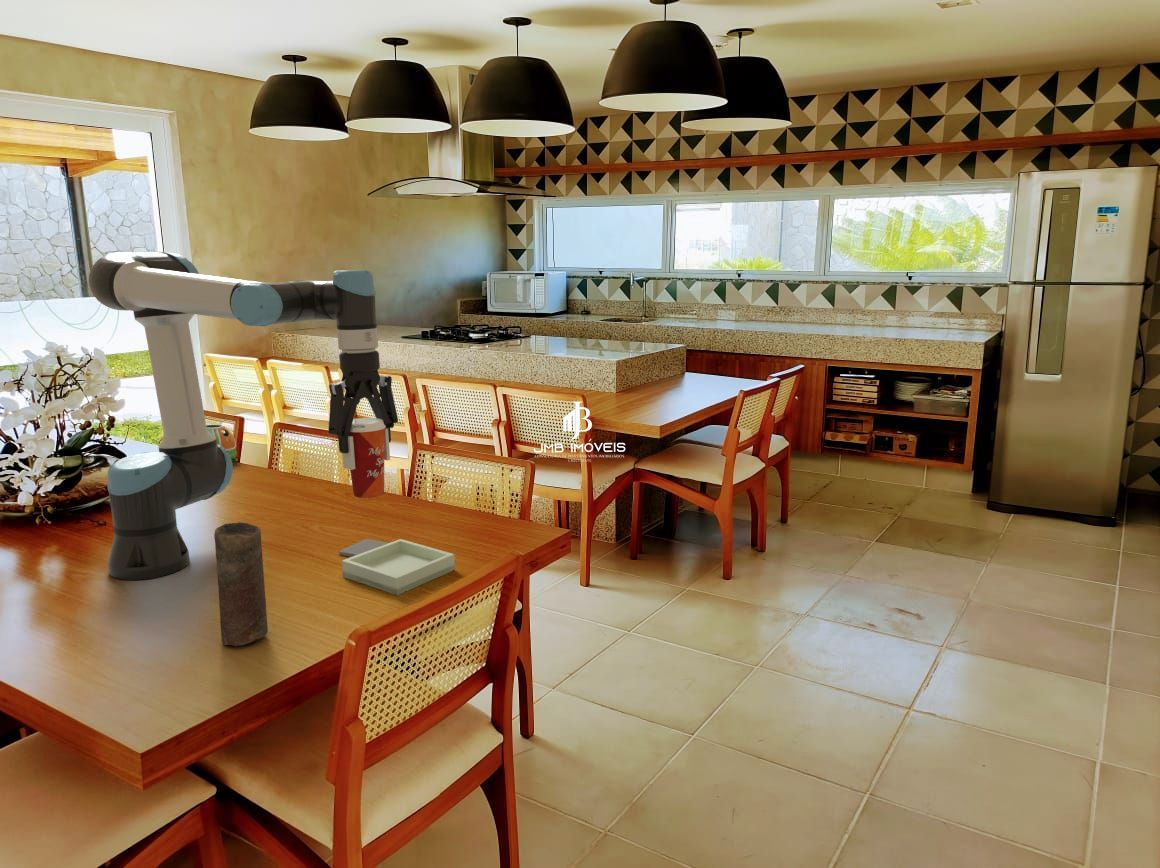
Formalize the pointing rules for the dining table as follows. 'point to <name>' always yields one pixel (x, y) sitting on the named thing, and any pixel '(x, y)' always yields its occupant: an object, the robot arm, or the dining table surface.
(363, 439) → the coffee cup
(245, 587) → the grey brown tall cylinder
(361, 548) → the slate coaster
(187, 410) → the robot arm
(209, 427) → the turtle holder
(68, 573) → the dining table surface
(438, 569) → the bin
